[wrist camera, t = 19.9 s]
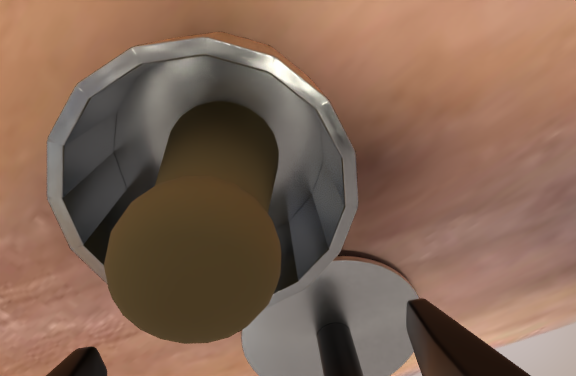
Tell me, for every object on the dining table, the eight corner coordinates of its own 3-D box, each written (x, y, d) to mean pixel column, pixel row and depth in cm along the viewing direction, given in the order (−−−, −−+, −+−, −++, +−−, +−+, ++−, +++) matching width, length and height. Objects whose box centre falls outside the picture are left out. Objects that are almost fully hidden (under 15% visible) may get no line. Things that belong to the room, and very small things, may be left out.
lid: (439, 344, 28) (484, 424, 22) (292, 404, 30) (299, 492, 24) (381, 219, 23) (421, 283, 17) (206, 300, 24) (191, 383, 19)
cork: (221, 75, 18) (174, 145, 8) (301, 158, 20) (345, 296, 10) (142, 155, 19) (17, 301, 9) (225, 224, 21) (197, 403, 11)
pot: (338, 229, 23) (363, 295, 17) (145, 258, 22) (109, 333, 17) (321, 17, 17) (350, 15, 12) (70, 52, 17) (-16, 66, 12)
